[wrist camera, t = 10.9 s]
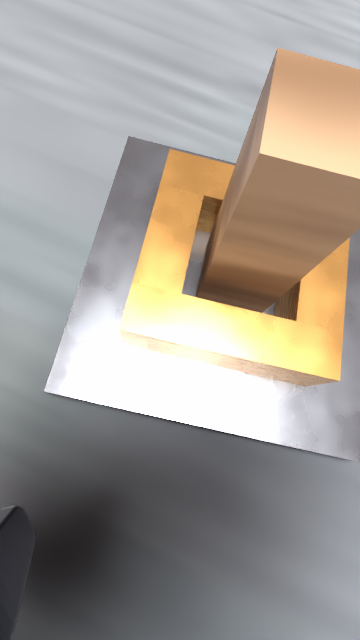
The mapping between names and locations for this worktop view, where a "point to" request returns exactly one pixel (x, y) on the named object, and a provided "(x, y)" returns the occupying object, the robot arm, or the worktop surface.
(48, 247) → the worktop surface
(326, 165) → the tan square block
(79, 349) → the square socket
